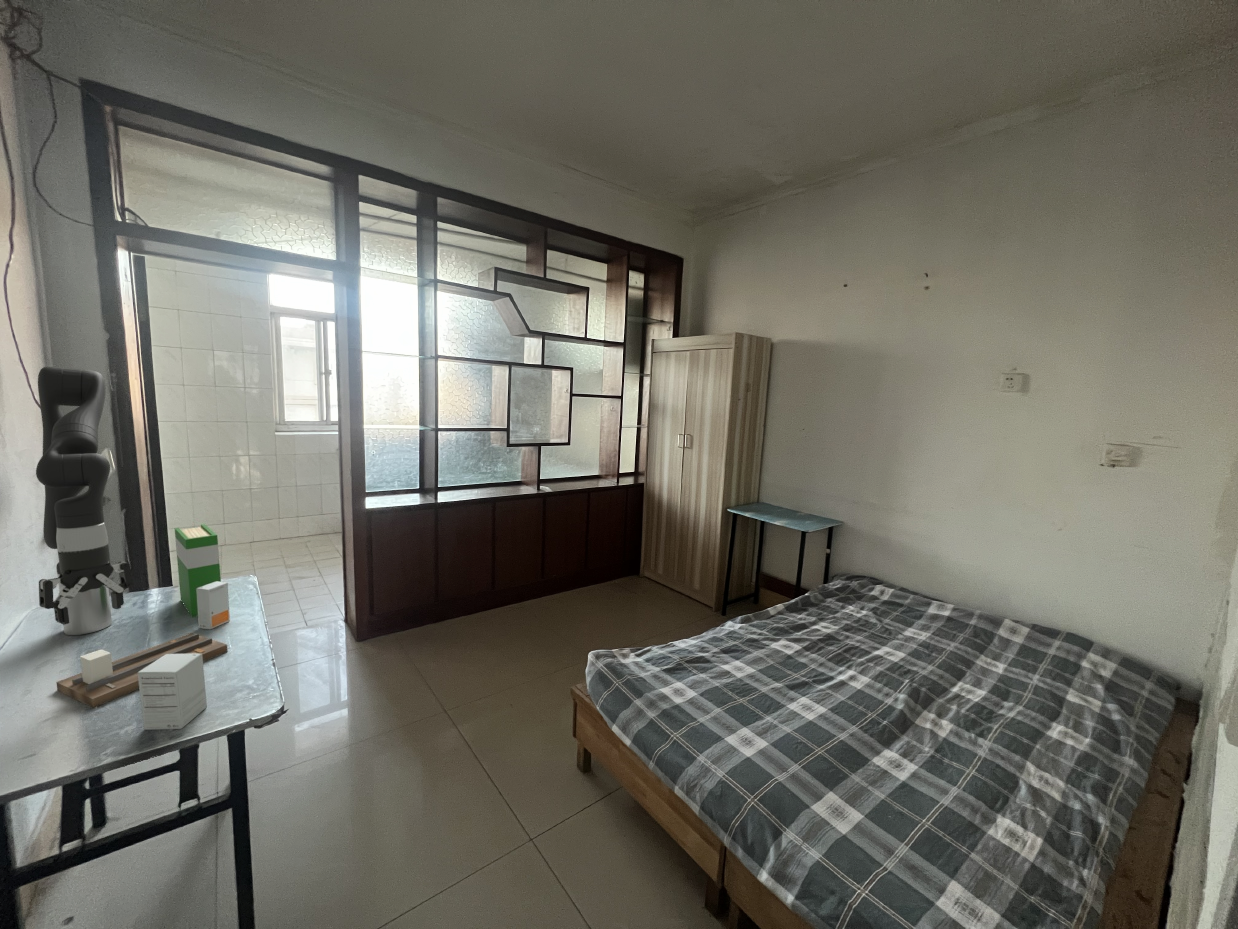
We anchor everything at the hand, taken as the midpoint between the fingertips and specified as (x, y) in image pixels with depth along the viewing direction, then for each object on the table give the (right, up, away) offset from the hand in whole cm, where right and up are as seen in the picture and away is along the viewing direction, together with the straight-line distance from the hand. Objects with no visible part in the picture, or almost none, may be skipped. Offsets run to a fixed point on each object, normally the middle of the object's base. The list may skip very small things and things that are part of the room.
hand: (91, 615), depth 109 cm
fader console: (+3, -16, +11) cm, 20 cm away
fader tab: (-1, -15, +2) cm, 15 cm away
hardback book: (-15, -11, +47) cm, 51 cm away
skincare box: (-1, -13, +34) cm, 37 cm away
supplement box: (+25, -20, -7) cm, 32 cm away
